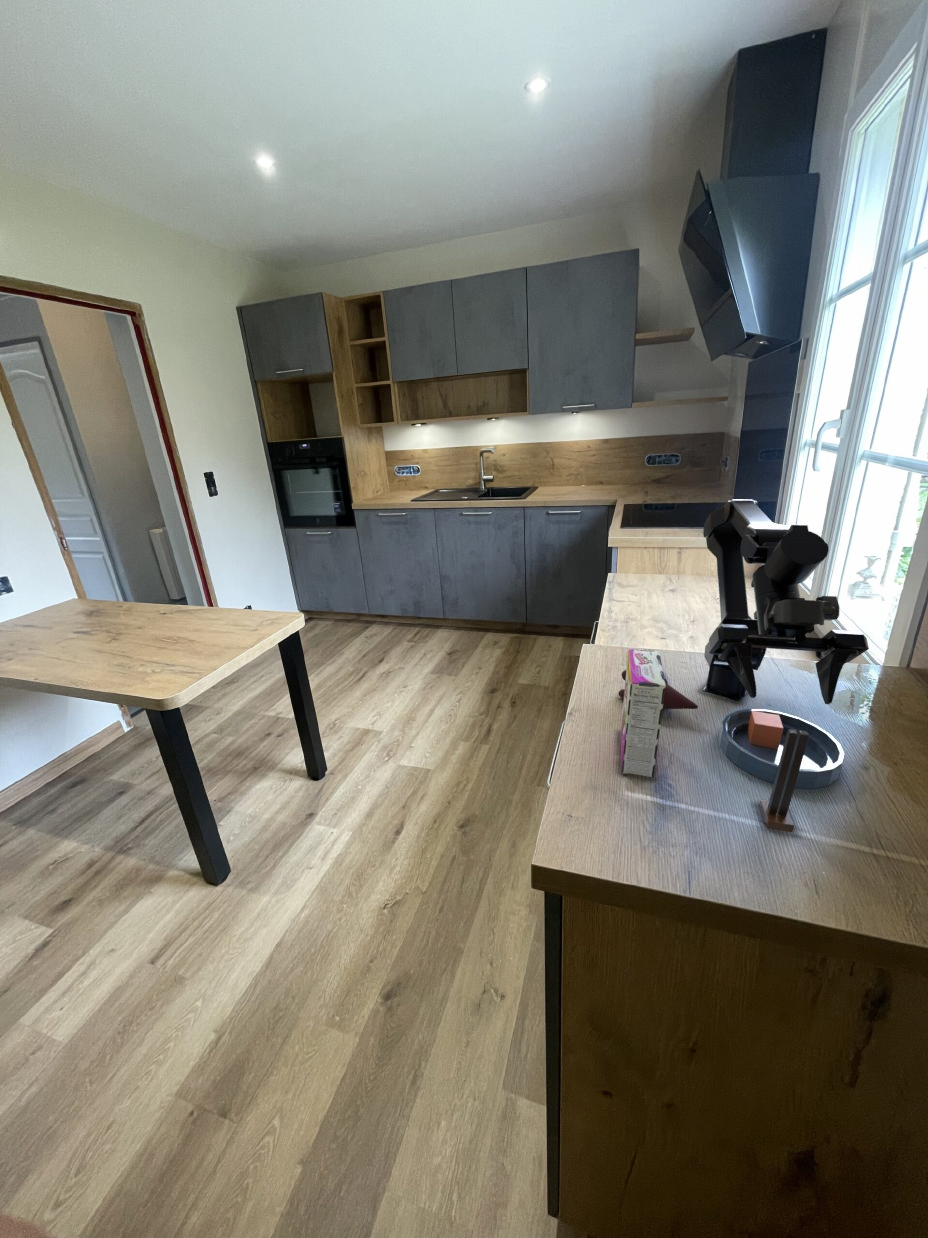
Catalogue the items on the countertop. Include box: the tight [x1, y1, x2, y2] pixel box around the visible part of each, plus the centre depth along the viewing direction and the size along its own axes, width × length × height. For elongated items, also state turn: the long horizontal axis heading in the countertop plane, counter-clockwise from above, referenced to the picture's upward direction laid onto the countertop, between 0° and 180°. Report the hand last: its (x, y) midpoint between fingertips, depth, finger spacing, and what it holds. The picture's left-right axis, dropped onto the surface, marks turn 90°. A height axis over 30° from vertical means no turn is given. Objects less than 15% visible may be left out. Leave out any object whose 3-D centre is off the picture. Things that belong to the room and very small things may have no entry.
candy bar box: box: [620, 648, 666, 778], centre depth 75 cm, size 11×5×16 cm, turn 164°
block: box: [747, 711, 784, 749], centre depth 80 cm, size 4×4×4 cm
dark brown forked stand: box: [759, 729, 809, 833], centre depth 63 cm, size 4×3×14 cm
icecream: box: [617, 669, 699, 710], centre depth 89 cm, size 7×7×15 cm
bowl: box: [718, 708, 846, 790], centre depth 77 cm, size 16×16×4 cm
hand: (790, 700), depth 67 cm, fingers open, 9 cm apart
